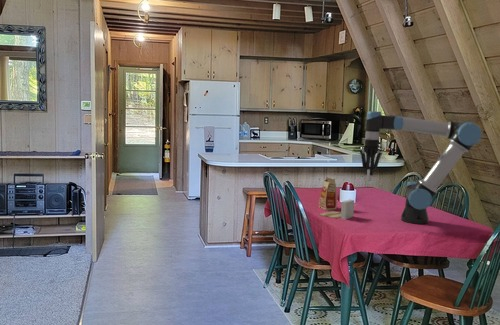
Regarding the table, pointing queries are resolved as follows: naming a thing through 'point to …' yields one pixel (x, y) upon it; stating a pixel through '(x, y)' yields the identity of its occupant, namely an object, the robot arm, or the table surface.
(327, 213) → the cork mat
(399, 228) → the table surface
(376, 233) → the table surface
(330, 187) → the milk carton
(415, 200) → the robot arm
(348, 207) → the tile
